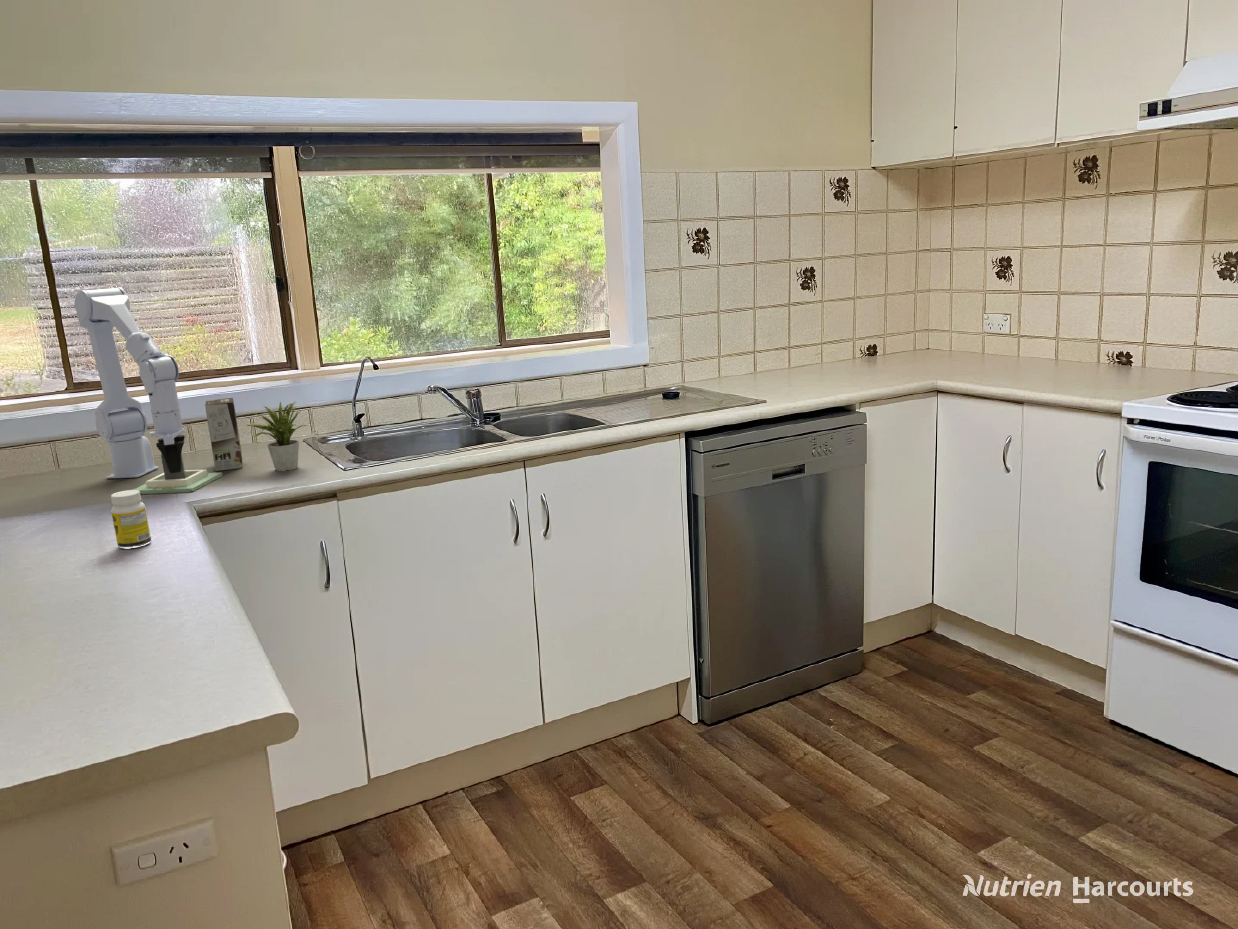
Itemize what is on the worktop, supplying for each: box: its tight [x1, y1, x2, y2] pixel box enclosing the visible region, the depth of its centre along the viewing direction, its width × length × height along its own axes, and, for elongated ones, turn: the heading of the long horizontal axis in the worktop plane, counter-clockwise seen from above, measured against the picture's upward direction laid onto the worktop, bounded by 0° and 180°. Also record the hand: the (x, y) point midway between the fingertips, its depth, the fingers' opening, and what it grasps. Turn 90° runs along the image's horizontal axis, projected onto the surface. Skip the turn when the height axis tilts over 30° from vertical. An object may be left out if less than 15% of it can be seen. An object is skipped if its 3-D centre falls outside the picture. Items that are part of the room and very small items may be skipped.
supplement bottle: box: [110, 489, 152, 548], centre depth 169 cm, size 6×6×10 cm
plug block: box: [160, 452, 186, 480], centre depth 213 cm, size 4×4×6 cm
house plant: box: [246, 401, 308, 472], centre depth 223 cm, size 14×14×16 cm
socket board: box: [133, 468, 223, 495], centre depth 214 cm, size 14×14×2 cm
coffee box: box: [204, 397, 243, 472], centre depth 228 cm, size 9×6×16 cm
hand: (175, 470), depth 213 cm, fingers closed on plug block, 4 cm apart
